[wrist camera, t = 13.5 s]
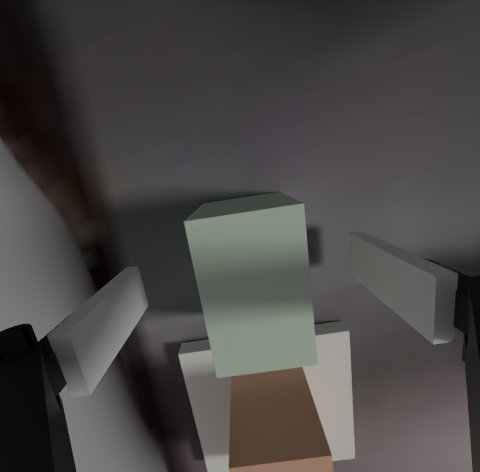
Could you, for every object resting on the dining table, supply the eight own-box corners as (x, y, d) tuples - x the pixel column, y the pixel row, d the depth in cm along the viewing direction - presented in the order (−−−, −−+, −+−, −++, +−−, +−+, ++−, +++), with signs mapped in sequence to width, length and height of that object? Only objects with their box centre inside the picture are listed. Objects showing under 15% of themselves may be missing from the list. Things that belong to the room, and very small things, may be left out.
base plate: (181, 342, 18) (178, 354, 17) (342, 320, 18) (349, 330, 17) (210, 459, 22) (209, 476, 20) (348, 442, 21) (355, 458, 20)
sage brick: (203, 203, 16) (183, 221, 10) (279, 191, 16) (303, 203, 10) (223, 311, 18) (217, 378, 12) (291, 302, 18) (317, 365, 12)
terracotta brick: (231, 371, 18) (228, 468, 12) (300, 361, 18) (331, 455, 12) (247, 453, 20) (251, 570, 14) (309, 445, 20) (340, 560, 14)
